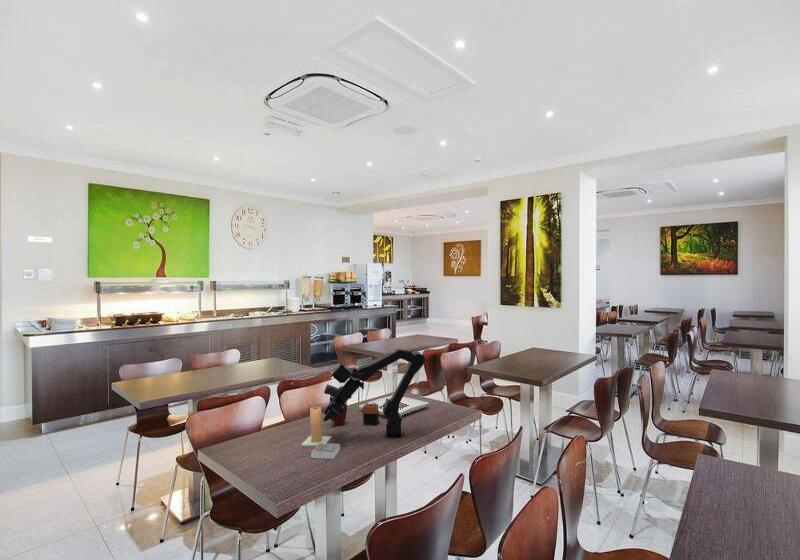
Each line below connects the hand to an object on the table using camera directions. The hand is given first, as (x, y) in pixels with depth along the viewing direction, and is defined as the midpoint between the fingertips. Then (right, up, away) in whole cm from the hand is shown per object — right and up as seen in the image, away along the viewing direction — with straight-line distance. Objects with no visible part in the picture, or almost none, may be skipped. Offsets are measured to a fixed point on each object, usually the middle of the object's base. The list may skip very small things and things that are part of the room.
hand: (324, 417), depth 187 cm
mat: (-3, -10, -1) cm, 11 cm away
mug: (+3, -10, +21) cm, 23 cm away
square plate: (+30, -10, +41) cm, 52 cm away
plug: (-3, -10, -1) cm, 10 cm away
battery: (+19, -10, +20) cm, 30 cm away
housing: (+3, -10, -14) cm, 18 cm away
